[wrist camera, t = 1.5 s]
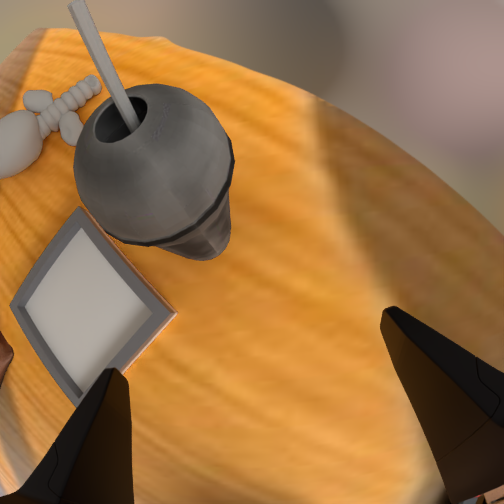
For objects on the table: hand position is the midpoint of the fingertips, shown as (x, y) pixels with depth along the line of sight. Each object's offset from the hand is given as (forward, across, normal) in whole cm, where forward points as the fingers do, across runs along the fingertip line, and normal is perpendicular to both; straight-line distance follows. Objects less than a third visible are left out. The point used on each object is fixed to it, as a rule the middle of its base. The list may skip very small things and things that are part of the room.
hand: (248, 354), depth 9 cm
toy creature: (+27, +21, -8) cm, 35 cm away
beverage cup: (+16, +2, +4) cm, 16 cm away
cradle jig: (+12, +15, +7) cm, 20 cm away
